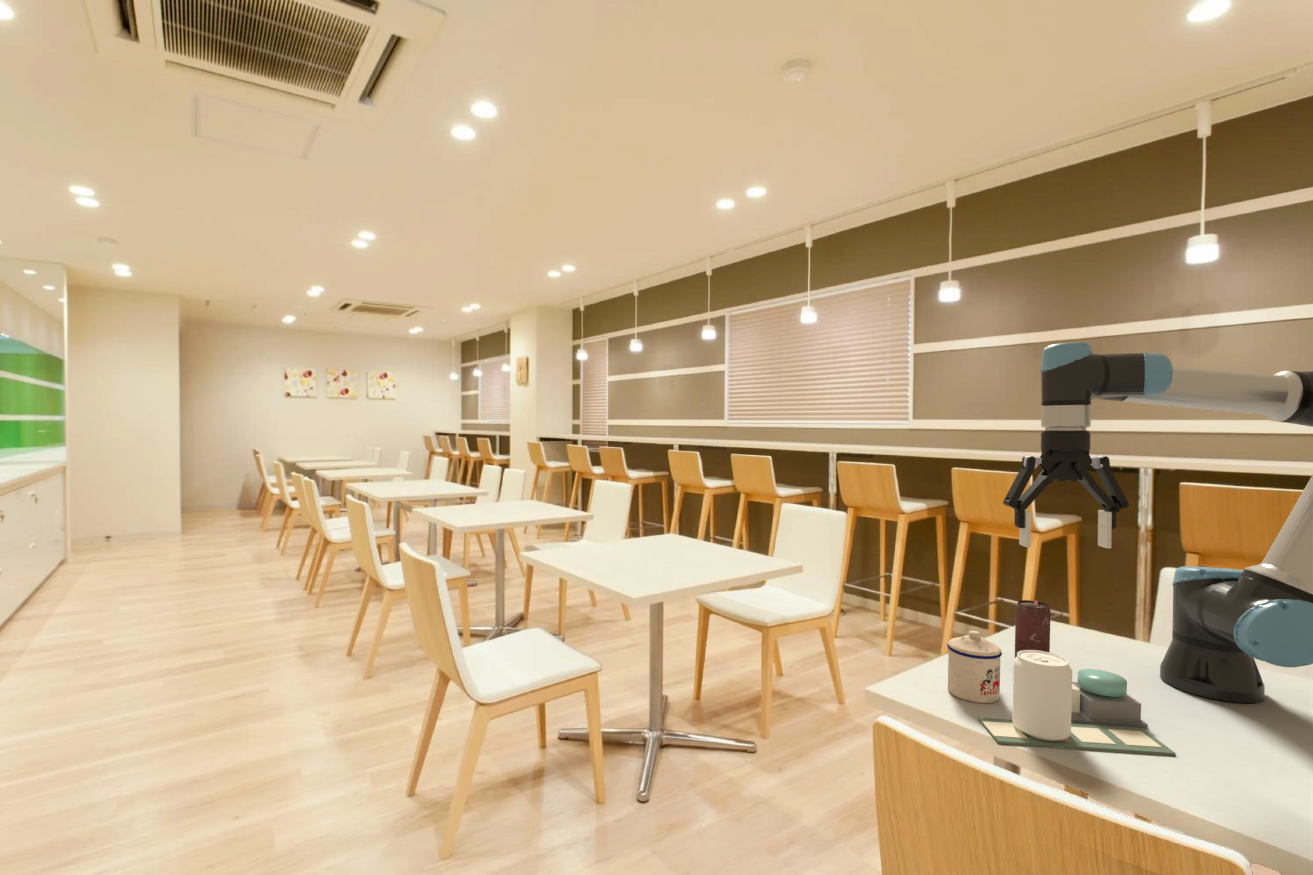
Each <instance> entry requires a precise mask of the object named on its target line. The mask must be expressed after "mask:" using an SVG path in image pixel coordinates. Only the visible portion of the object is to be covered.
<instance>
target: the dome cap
mask: <svg viewBox="0 0 1313 875" xmlns="http://www.w3.org/2000/svg"><path fill="white" fill-rule="evenodd" d="M1077 682H1078V685H1079V686H1080V687H1081V688H1083V689H1085V690H1087V691H1089V692H1092V693H1094V694H1096V695H1097V696H1111V697H1122V696H1125V695H1126V694H1128V681H1127V679H1126V678H1124V677H1123V676H1121V675H1119V674H1116V673H1114V672H1110V671H1106V670H1102V669H1095V668H1083V669H1079V670H1078V671H1077Z"/></svg>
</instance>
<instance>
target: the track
mask: <svg viewBox="0 0 1313 875" xmlns="http://www.w3.org/2000/svg"><path fill="white" fill-rule="evenodd" d="M977 720H978V721H979V723H980V724H981V725H982V727H984V729H985V730H986V731H987V732H988V733H989V735H990V736H991V737H992V738H993V739H994V741H995V742H996V743H997V744H999V745H1014V746H1030V747H1041V748H1044V747H1045V748H1059V749H1070V750H1071V749H1072V750H1088V751H1102V752H1117V753H1131V754H1132V753H1133V754H1147V755H1158V756H1159V755H1161V756H1172V757H1173V756H1175V757H1176V755H1177V754H1176V752H1175V751H1173V750H1172V749H1171V748H1170V747H1168V746H1166V745H1165V744H1164V743H1163V742H1162V741H1160V740H1159V739H1157V738H1156V737H1155V736H1154V735H1152V734H1151V733H1149V732H1148V731H1146V730H1145V728H1139V727H1123V726H1107V725H1092V724H1076V723H1071V735H1070V737H1068V738H1067V739H1063V740H1057V741H1049V740H1043V739H1038V738H1035V737H1032V736H1030V735H1028V734H1026V733H1024V732H1023V731H1021V730H1019V729H1018V728H1017V727H1016V726H1015V725H1014V724H1013V722H1012V719H1010V718H1009V719H1007V718H1005V719H1004V718H992V717H991V718H990V717H978V719H977Z"/></svg>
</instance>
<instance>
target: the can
mask: <svg viewBox="0 0 1313 875" xmlns="http://www.w3.org/2000/svg"><path fill="white" fill-rule="evenodd" d="M1051 614H1052V612H1051V609H1050V607H1049V605H1048V604H1047V603H1045V602H1041V601H1038V600H1027V599H1026V600H1025V599H1023V600H1022V599H1021V600H1018V601H1017V604H1015V621H1014V622H1015V626H1014V629H1015V630H1014V659H1015V658H1016V657H1017V653H1018V652H1019V651H1022V650H1038V651H1044V652H1049V653H1051V651H1050V650H1051V649H1050V648H1051Z"/></svg>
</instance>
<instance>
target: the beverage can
mask: <svg viewBox="0 0 1313 875" xmlns="http://www.w3.org/2000/svg"><path fill="white" fill-rule="evenodd" d="M1012 667H1013V668H1012V670H1013V671H1012V673H1013V676H1012V677H1013V678H1012V682H1013V683H1012V715H1011V716H1012V719H1011V720H1012V722H1013V724H1014V725H1015V726H1016V727H1017V728H1018V729H1019V730H1021V731H1023V732H1024V733H1026V734H1028V735H1030V736H1032V737H1035V738H1038V739H1043V740H1049V741H1057V740H1063V739H1067V738H1068V737H1070V735H1071V709H1072V682H1073V669H1072V668H1071V666H1070V662H1069V660H1068V659H1067V658H1065V657H1064V656H1061V655H1059V654H1055V653H1053V652H1050V653H1049V652H1044V651H1038V650H1022V651H1019V652H1018V653H1017V657H1016V658H1015V657H1014V658H1013V666H1012Z"/></svg>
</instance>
